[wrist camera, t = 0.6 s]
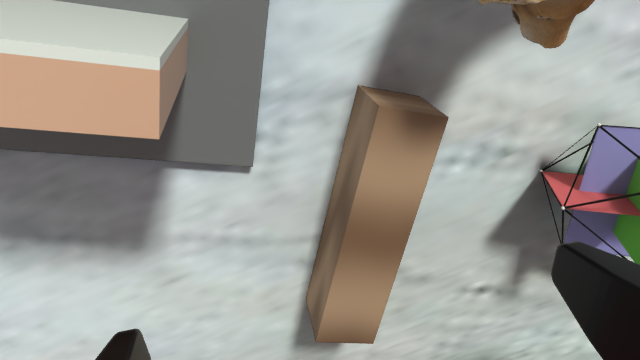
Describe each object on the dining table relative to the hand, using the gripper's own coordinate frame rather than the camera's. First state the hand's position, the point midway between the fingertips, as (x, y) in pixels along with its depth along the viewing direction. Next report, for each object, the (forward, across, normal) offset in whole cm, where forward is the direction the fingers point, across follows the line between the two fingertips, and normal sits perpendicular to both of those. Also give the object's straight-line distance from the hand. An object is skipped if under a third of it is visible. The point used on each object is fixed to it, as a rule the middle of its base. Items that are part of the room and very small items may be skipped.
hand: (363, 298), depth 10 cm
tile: (+12, +7, -4) cm, 15 cm away
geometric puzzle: (+12, -16, +6) cm, 20 cm away
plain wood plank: (+12, -3, +6) cm, 14 cm away
